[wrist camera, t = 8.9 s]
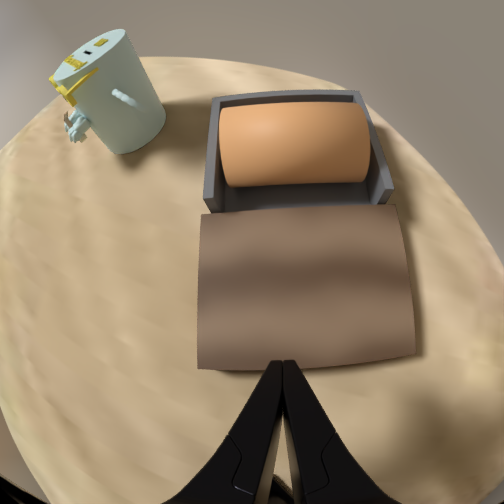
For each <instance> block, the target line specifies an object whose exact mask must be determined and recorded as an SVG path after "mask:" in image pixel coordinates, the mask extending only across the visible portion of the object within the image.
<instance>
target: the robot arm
mask: <svg viewBox="0 0 504 504" xmlns="http://www.w3.org/2000/svg"><path fill="white" fill-rule="evenodd" d="M282 417H283V420H284V428H285V435H286V443H287V451H288V458H289V466H290V473H291V481H292V489H293V496H292V495H291V494H290V493H289V492H288V491H287V490H286V489H285V488H284V487H283V486H282V485H281V484H280V483H279V482H278V481H277V480H276V479H275V478H274V477H273V472H274V467H275V461H276V455H277V450H278V444H279V438H280V431H281V425H282ZM0 504H49V503H47V502H45V501H43V500H42V499H40V498H38V497H37V496H35V495H33V494H31V493H30V492H28V491H26V490H25V489H23V488H21V487H20V486H18V485H17V484H15V483H13V482H12V481H10V480H9V479H7V478H6V477H4V476H3V475H2V474H0ZM162 504H402V503H400V502H398V501H396V500H394V499H393V498H391V497H389V496H388V495H387V494H385V493H384V492H383V491H382V490H381V489H380V488H379V487H378V486H377V485H376V484H375V483H374V481H373V480H372V479H371V478H370V477H369V476H368V475H367V473H366V472H365V471H364V470H363V469H362V467H361V466H360V465H359V464H358V463H357V461H356V460H355V459H354V458H353V456H352V455H351V454H350V452H349V451H348V449H347V448H346V446H345V445H344V443H343V442H342V440H341V438H340V437H339V435H338V433H337V432H336V430H335V428H334V427H333V425H332V423H331V421H330V420H329V418H328V416H327V415H326V413H325V411H324V409H323V408H322V406H321V404H320V403H319V401H318V399H317V397H316V396H315V394H314V392H313V390H312V389H311V387H310V385H309V384H308V382H307V380H306V378H305V377H304V375H303V373H302V371H301V370H300V368H299V366H298V364H297V362H296V361H295V360H294V359H290V360H283V362H282V360H271V361H270V362H269V364H268V366H267V367H266V369H265V371H264V373H263V375H262V376H261V378H260V380H259V382H258V384H257V385H256V387H255V389H254V391H253V392H252V394H251V396H250V398H249V399H248V401H247V403H246V404H245V406H244V408H243V409H242V411H241V413H240V414H239V416H238V418H237V419H236V421H235V423H234V424H233V426H232V428H231V429H230V431H229V432H228V435H226V437H225V439H224V440H223V442H222V443H221V445H220V446H219V448H218V449H217V451H216V452H215V453H214V455H213V456H212V457H211V458H210V460H209V461H208V462H207V463H206V464H205V466H204V467H203V468H202V469H201V470H200V471H199V472H198V473H197V474H196V475H195V476H194V478H193V479H192V480H191V481H190V482H189V483H188V484H187V485H186V486H185V487H184V488H183V489H182V490H181V491H180V492H179V493H177V494H176V495H175V496H174V497H172V498H171V499H169V500H167V501H165V502H164V503H162ZM499 504H504V500H503V501H502V502H500V503H499Z"/></svg>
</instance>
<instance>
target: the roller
mask: <svg viewBox="0 0 504 504" xmlns="http://www.w3.org/2000/svg"><path fill="white" fill-rule="evenodd" d="M219 141H220V152H221V160H222V166H223V170H224V175H225V178H226V181H227V184H228V186H229V187H230V188H238V187H251V186H266V185H283V184H306V183H350V182H362V181H363V180H364V179H365V177H366V175H367V172H368V167H369V161H370V135H369V128H368V123H367V119H366V116H365V113H364V111H363V109H362V107H361V106H360V105H359V104H358V103H347V102H289V103H270V104H257V105H246V106H237V107H228V108H223V109H222V110H221V113H220V120H219Z"/></svg>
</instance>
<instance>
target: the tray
mask: <svg viewBox="0 0 504 504" xmlns="http://www.w3.org/2000/svg"><path fill="white" fill-rule="evenodd" d="M289 102H347V103H358V104H359V105H360V106H361V107H362V109H363V111H364V113H365V116H366V119H367V123H368V128H369V135H370V161H369V167H368V172H367V175H366V177H365V179H364V180H363V181H362V182H350V183H306V184H283V185H266V186H251V187H238V188H230V187H229V186H228V184H227V181H226V178H225V175H224V170H223V166H222V160H221V152H220V141H219V120H220V113H221V110H222V109H223V108H228V107H237V106H246V105H257V104H270V103H289ZM393 191H394V186H393V182H392V179H391V175H390V172H389V169H388V166H387V162H386V159H385V156H384V153H383V150H382V147H381V145H380V142H379V139H378V136H377V134H376V131H375V128H374V126H373V123H372V120H371V118H370V115H369V113H368V111H367V108H366V106H365V103H364V101H363V99H362V96H361V94H360V92H359V91H352V90H285V91H269V92H257V93H247V94H238V95H230V96H223V97H216V98H213V99H212V107H211V116H210V124H209V134H208V144H207V154H206V165H205V177H204V190H203V200H204V201H205V203H206V205H207V207H208V208H209V210H210V212H211V214H213V213H225V212H237V211H251V210H265V209H281V208H298V207H319V206H344V205H383V204H386V202H387V200H388V199H389V197H390V195H391V194H392V192H393Z"/></svg>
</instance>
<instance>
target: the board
mask: <svg viewBox="0 0 504 504" xmlns="http://www.w3.org/2000/svg"><path fill="white" fill-rule="evenodd" d="M413 354H416V341H415V325H414V313H413V303H412V294H411V286H410V278H409V272H408V265H407V259H406V253H405V248H404V243H403V238H402V233H401V228H400V223H399V219H398V215H397V210H396V206H395V204H383V205H344V206H319V207H298V208H281V209H265V210H251V211H237V212H225V213H213V214H202V215H201V226H200V245H199V270H198V312H197V360H198V369H210V370H265V369H266V367H267V366H268V364H269V362H270V361H271V360H282V362H283V360H290V359H294V360H295V361H296V362H297V364H298V366H299V368H300V369H303V368H317V367H329V366H339V365H348V364H356V363H364V362H371V361H378V360H385V359H391V358H396V357H402V356H407V355H413Z"/></svg>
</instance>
